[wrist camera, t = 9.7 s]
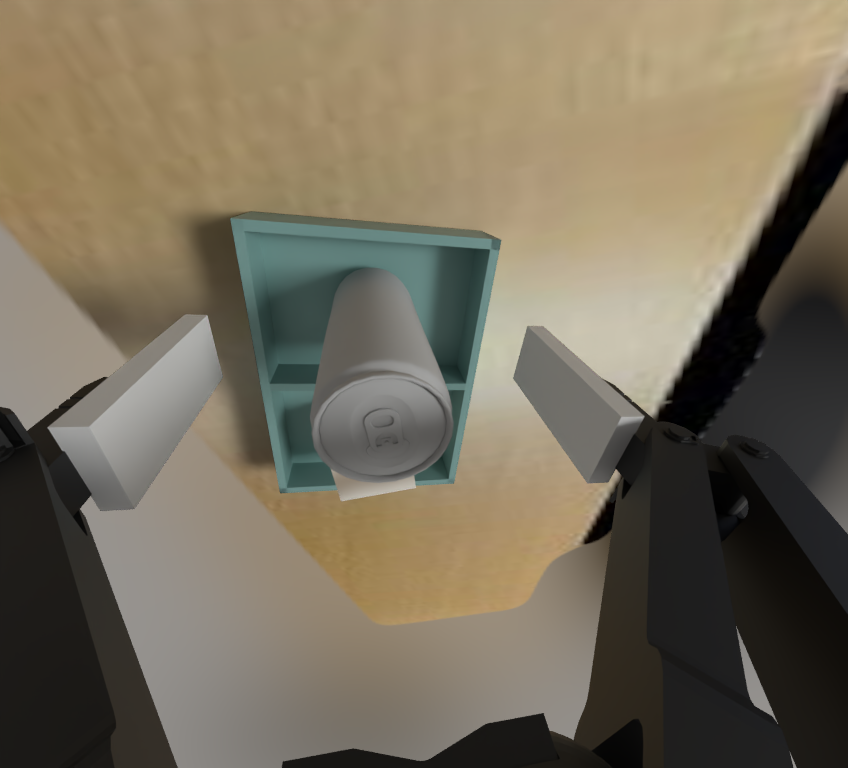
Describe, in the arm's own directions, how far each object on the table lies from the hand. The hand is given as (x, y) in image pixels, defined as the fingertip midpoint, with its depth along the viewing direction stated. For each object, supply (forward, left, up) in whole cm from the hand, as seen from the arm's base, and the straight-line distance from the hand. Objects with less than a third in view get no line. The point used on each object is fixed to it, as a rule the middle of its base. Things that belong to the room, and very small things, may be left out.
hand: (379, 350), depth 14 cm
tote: (+5, 0, -8) cm, 10 cm away
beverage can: (0, 0, -7) cm, 7 cm away
